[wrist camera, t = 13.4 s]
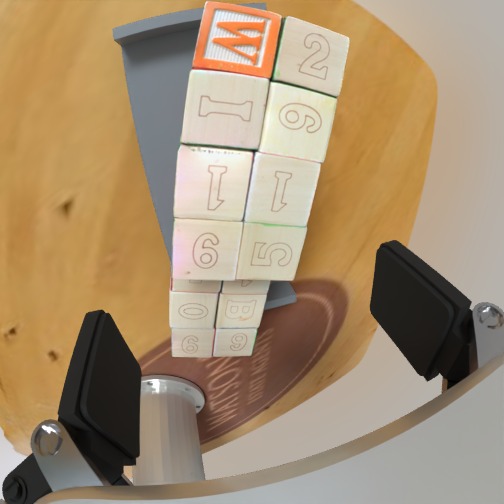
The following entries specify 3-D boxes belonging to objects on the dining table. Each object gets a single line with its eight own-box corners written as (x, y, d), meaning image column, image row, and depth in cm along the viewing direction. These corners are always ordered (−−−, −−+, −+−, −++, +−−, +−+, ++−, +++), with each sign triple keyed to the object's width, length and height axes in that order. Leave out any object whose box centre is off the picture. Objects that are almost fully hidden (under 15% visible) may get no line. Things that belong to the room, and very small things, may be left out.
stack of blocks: (232, 288, 29) (260, 388, 19) (170, 285, 27) (169, 391, 17) (274, 64, 19) (355, 36, 9) (196, 51, 18) (206, -4, 7)
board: (284, 279, 32) (296, 301, 28) (187, 301, 31) (188, 327, 27) (253, 16, 18) (265, 3, 14) (123, 39, 17) (112, 28, 13)
